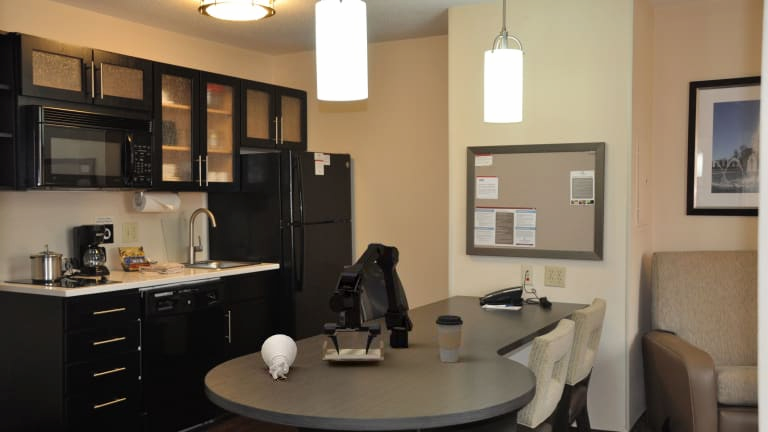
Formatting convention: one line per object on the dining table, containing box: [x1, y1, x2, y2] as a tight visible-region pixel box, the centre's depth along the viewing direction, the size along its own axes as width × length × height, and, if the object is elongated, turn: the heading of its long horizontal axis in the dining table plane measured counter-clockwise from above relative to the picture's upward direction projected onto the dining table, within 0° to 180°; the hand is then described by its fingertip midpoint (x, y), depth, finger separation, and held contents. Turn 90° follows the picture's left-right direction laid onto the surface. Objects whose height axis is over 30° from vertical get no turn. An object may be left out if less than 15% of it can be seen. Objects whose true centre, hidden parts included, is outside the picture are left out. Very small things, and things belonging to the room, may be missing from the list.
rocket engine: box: [261, 334, 298, 380], centre depth 229 cm, size 12×12×18 cm
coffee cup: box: [435, 314, 464, 363], centre depth 248 cm, size 9×9×15 cm
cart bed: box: [321, 340, 385, 361], centre depth 254 cm, size 21×12×4 cm, turn 91°
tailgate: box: [325, 355, 380, 361], centre depth 242 cm, size 18×2×9 cm
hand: (352, 354), depth 240 cm, fingers open, 9 cm apart
